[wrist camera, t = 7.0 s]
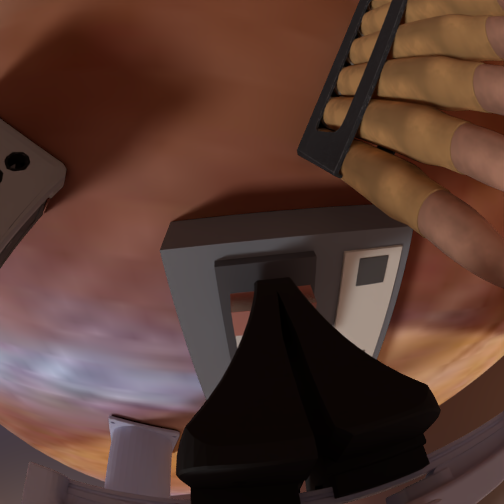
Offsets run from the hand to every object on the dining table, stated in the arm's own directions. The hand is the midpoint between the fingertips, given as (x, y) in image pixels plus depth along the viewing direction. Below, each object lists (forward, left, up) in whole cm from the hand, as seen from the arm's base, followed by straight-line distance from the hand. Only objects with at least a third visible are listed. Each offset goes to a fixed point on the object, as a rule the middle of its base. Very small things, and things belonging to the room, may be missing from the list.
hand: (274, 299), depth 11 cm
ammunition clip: (+10, -1, -6) cm, 12 cm away
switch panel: (-8, -5, -5) cm, 11 cm away
